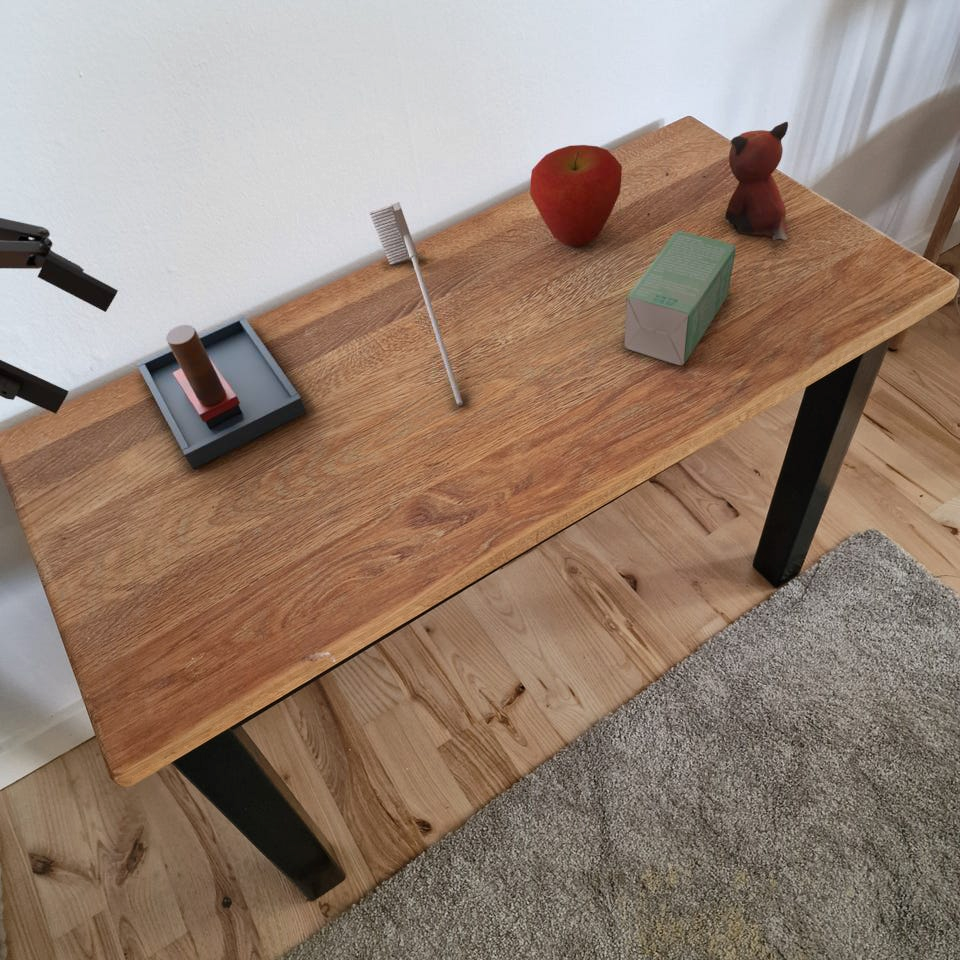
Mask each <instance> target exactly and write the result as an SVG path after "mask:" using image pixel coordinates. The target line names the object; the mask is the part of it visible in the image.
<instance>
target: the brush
mask: <svg viewBox="0 0 960 960" xmlns="http://www.w3.org/2000/svg"><path fill="white" fill-rule="evenodd" d="M369 215H370V218H371V221H372V223H373V225H374V228H375V230H376V233H377V236H378V238H379V240H380V244H381V245H382V248H383V251H384V254H385V256H386V257H387V260H388V261H387V262H388V263H389V266H392V265H395V264H399V263H402V262H404V261H407V260H410V261H411V262H412V265H413V268H414V271H415V275H416V277H417V280H418V284H419V287H420V290H421V294H422V297H423V301H424V304H425V307H426V309H427V313H428V315H429V320H430V322H431V325H432V329H433V332H434V336H435V339H436V342H437V345H438V348H439V351H440V354H441V358H442V360H443V363H444V366H445V370H446V373H447V376H448V379H449V383H450V386H451V389H452V392H453V395H454V399H455V402H456V405H457V406H458V407H460V406H463V405H464V403H463V400H462V396H461V393H460V390H459V387H458V384H457V380H456V377H455V374H454V372H453V367H452V365H451V362H450V359H449V355H448V352H447V349H446V346H445V343H444V340H443V337H442V333H441V331H440V327H439V324H438V321H437V318H436V315H435V311H434V308H433V306H432V302H431V299H430V295H429V292H428V290H427V287H426V283H425V280H424V276H423V273H422V270H421V267H420V264H419V263H420V258H419V255H418V253H417V252H418V251H417V249H416V246H415V244H414V240H413V238H412V235H411V232H410V229H409V226H408V224H407V220H406V218H405V215H404V212H403V209H402V206H401V204H400V202H399V201H398V202H395V203H390V204H389V205H387V206H384V207H381V208H378V209H375V210H373V211H370V212H369Z"/></svg>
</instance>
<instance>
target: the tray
mask: <svg viewBox="0 0 960 960" xmlns="http://www.w3.org/2000/svg"><path fill="white" fill-rule="evenodd" d="M198 336H199V338H200V340H201V342H202V344H203V346H204V348H205V350H206V353H207V355H208V356H209V357H210V359H211V360H212V362H213V363H214V365H215V366H216V367H217V369H218V370H219V372H220V373H221V374H222V376H223V377H224V379H225V380H226V382H227V383H228V384H229V386H230V387H231V389H232V390H233V391H234V393H235V394H236V396H237V398H238V400H239V402H240V404H239V407H240V409H241V411H242V413H241V414H239V415H237V416H235V417H233V418H231V419H229V420H227V421H225V422H223V423H221V424H220V425H218V426H216V427H214V428H212V429H209V428H208V427H207V425H206V423H205V422H203V421H202V419H201V418H200V416H199V415H198V413H197V411H196V410H195V408H194V407H193V405H192V404H191V402H190V401H189V399H188V397H187V396H186V394H185V393H184V391H183V390H182V388H181V387H180V385H179V384H178V382H177V380H176V379H175V377H174V375H173V372H175V371H177V370H179V369H181V367H180V365H179V363H178V361H177V359H176V358H175V356H174V354H173V352H172V350H171V348H170V347H169V348H166V349H164V350H162V351H159V352H157V353H155V354H154V355H151V356H149V357H147V358H145V359H142V360H140V361H137V362H136V366H137V367H138V369H139V372H140V373H141V375H142V377H143V379H144V381H145V382H146V383H145V384H147V387H148V389H149V390H150V393H151V394H152V396H153V398H154V400H155V402H156V403H157V405H158V407H159V409H160V411H161V413H162V415H163V418H164V419H165V421H166V423H167V425H168V427H169V429H170V430H171V432H172V434H173V436H174V438H175V440H176V442H177V444H178V446H179V447H180V449H181V451H182V453H183V455H184V456H185V457H184V458H186V460H187V462H188V464H189V465H190V467H191V468H192V469H196V468H197V467H199V466H202V465H203V464H205V463H207V462H209V461H211V460H213V459H215V458H217V457H219V456H222V455H223V454H225V453H227V452H229V451H231V450H233V449H235V448H237V447H240V446H241V445H244V444H246V443H248V442H250V441H252V440H253V439H255V438H258V437H260V436H262V435H263V434H265V433H267V432H269V431H272V430H273V429H275V428H278V427H280V426H282V425H284V424H285V423H287V422H290V421H291V420H293V419H295V418H298V417H299V416H302V415H304V414H306V413H307V409H306V405H305V404H304V402H303V401H304V400H303V398H302V397H301V395H300V394H299V392H298V391H297V390H296V388H295V387H294V385H293V384H292V383H291V381H290V380H289V378H288V376H287V375H286V374H285V373H284V371H283V370H282V368H281V367H280V365H279V364H278V362H277V361H276V359H275V358H274V357H273V355H272V354H271V352H270V351H269V350H268V348H267V347H266V345H265V344H264V343H263V341H262V340H261V338H260V337H259V335H258V334H257V333H256V331H255V330H254V328H253V327H252V325H251V324H250V322H249V321H248V319H247V318H246V317H245V316H244V314H242V315H239V316H237V317H235V318H232V319H230V320H228V321H226V322H224V323H222V324H219V325H217V326H216V327H213V328H211V329H209V330H207V331H206V330H205V331H204V332H201V333H200V334H198Z"/></svg>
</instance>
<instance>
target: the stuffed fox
mask: <svg viewBox="0 0 960 960" xmlns="http://www.w3.org/2000/svg"><path fill="white" fill-rule="evenodd" d="M788 128H789V121H784V122H782V123H780V124H778V125H775V126H774V127H773V128H772V129H771V130H766V129H765V130H764V129H761V130H760V129H759V130H750V131H746V132H743V133H742V132H741V133H740V134H739V135H736V136H734V137H732V138H731V140H730V145H731V146H730V149H729V153H728V163H729V167H730V170H731V173H732V175H733V176H734V178H735V179H736V181H738V184H737V186H736V188H735V189H734V191H733V193H732V194H731V197H730V199H729V202H728V205H727V208H726V211H725V216H724V220H727V221H728V222H729V224H730V225H731V226H733V228H734V229H735V230H736V232H737V233H738V234H742V235H748V236H761V237H770V238H771V239H772V240H773V241H782V242H785V241H787V240H788V234H787V229H786V226H785V218H786V214H787V212H786V204H785V202H784V200H783V198H782V196H781V193H780V189H779V186H778V185H777V182H776V181H775V179H774V176H773V175H772V174H773V173H774V172H775V171H776V169H777V168H778V166H779V165H780V162H781V161H782V158H783V144H782V140H783V138H785V136H786V134H787V132H788Z"/></svg>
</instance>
